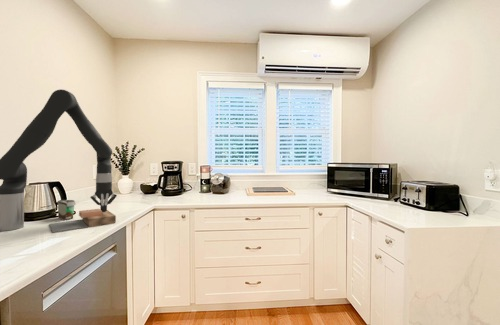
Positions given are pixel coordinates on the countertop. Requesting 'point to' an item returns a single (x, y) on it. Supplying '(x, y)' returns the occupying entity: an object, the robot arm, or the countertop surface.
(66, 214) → the food container
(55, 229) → the mat
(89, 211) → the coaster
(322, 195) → the countertop surface
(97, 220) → the board
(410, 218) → the countertop surface
